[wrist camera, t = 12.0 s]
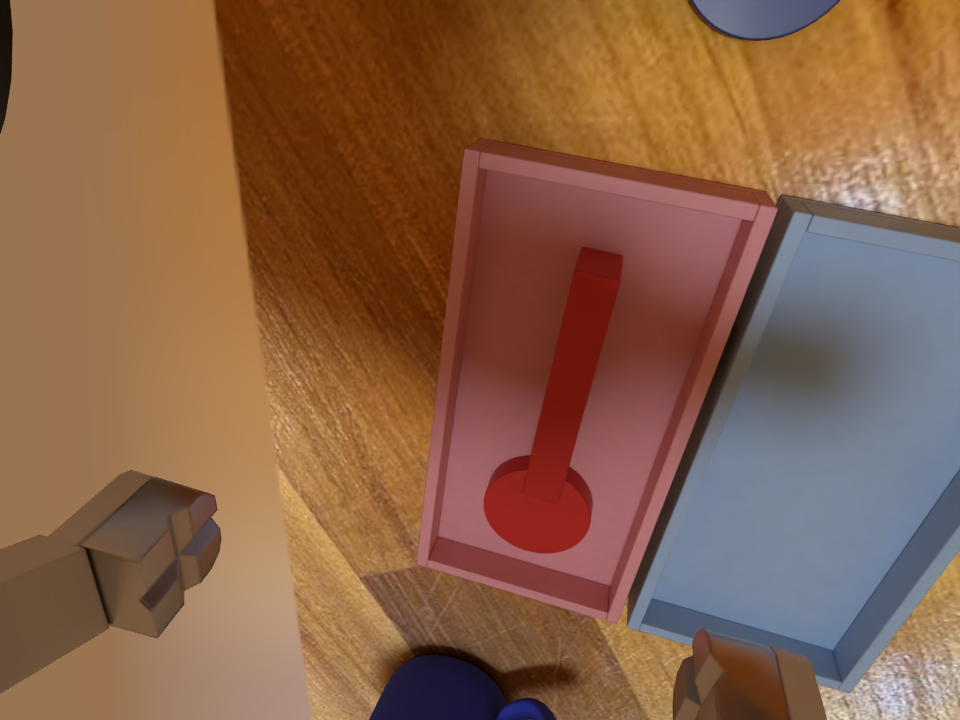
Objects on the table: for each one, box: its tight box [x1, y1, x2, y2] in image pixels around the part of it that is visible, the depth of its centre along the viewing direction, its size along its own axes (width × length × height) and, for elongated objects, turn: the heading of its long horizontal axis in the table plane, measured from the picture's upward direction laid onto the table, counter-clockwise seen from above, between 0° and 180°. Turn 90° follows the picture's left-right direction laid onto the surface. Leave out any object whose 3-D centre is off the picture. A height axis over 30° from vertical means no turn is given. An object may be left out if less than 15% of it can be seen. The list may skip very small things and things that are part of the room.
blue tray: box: [627, 195, 960, 693], centre depth 21 cm, size 9×18×2 cm, turn 172°
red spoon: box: [483, 247, 623, 554], centre depth 22 cm, size 13×4×2 cm, turn 172°
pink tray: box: [417, 138, 778, 624], centre depth 23 cm, size 9×18×2 cm, turn 172°
